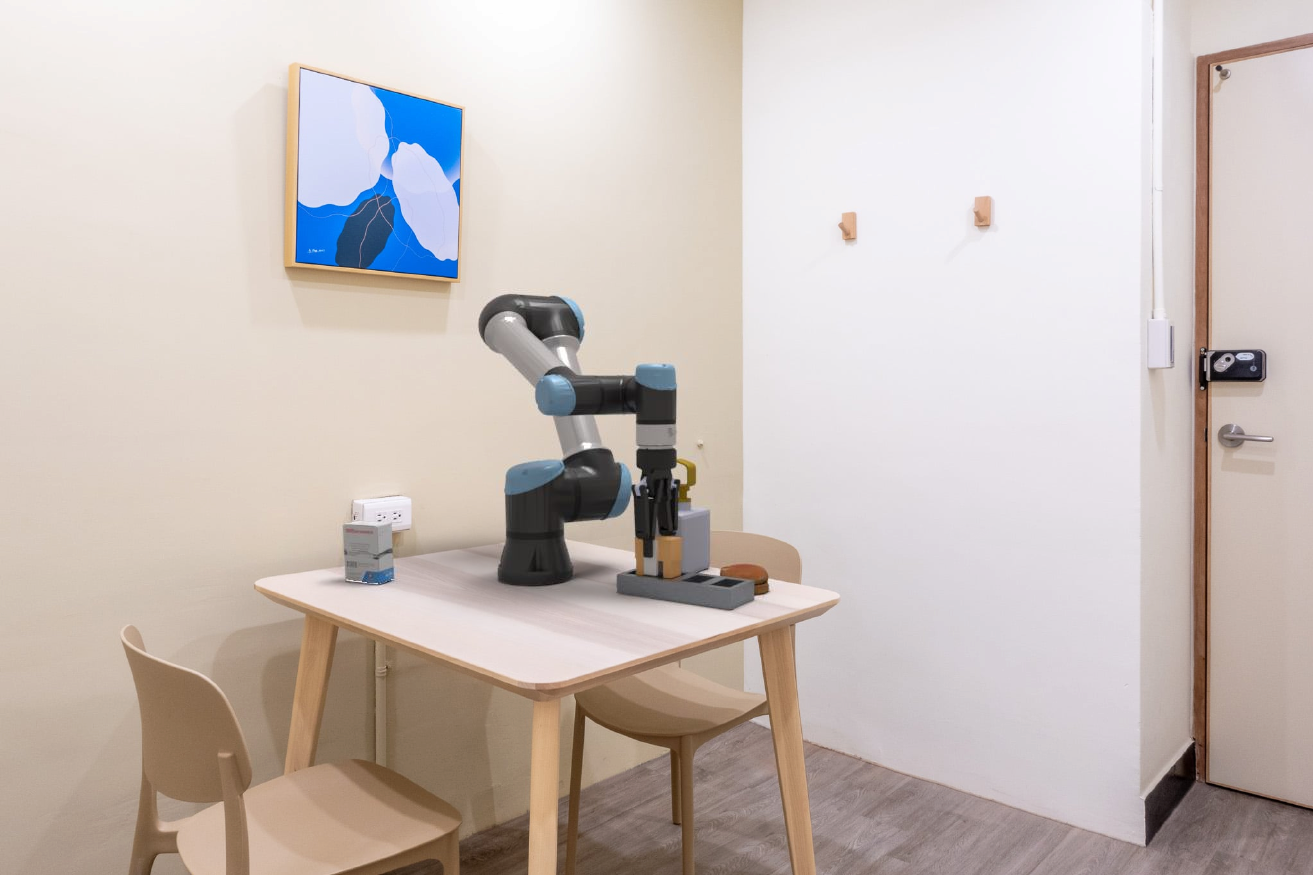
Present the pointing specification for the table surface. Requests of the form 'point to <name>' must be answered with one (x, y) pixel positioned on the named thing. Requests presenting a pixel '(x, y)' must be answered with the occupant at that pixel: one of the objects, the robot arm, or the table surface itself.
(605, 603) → the table surface
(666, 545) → the orange bridge block
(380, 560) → the ink box
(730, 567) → the burger
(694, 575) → the grey compartment tray
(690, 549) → the soap bottle
